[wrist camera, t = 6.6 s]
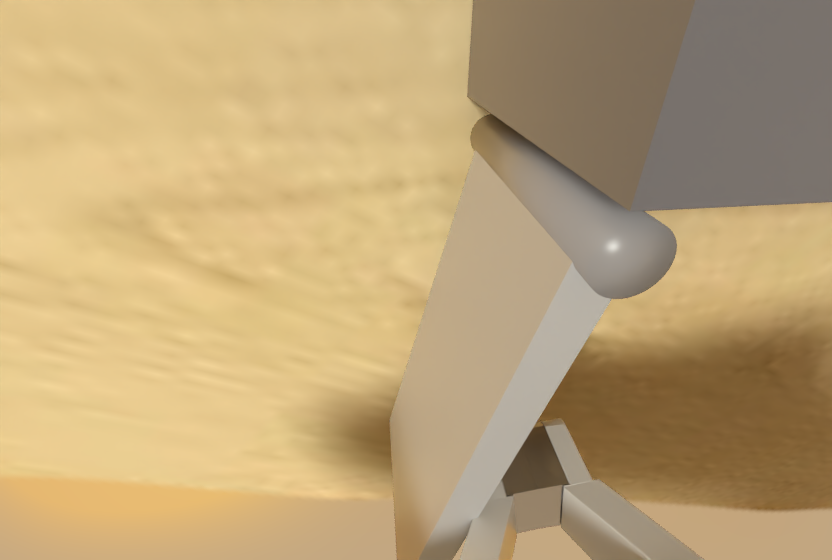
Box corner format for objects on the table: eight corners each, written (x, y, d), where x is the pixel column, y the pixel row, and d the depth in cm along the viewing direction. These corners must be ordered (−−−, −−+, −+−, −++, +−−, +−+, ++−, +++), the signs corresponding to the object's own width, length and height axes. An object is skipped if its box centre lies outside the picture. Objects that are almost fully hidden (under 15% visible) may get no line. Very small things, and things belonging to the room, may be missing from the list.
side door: (412, 412, 15) (436, 616, 10) (386, 410, 14) (396, 617, 9) (517, 119, 9) (695, 229, 4) (478, 109, 9) (615, 213, 4)
